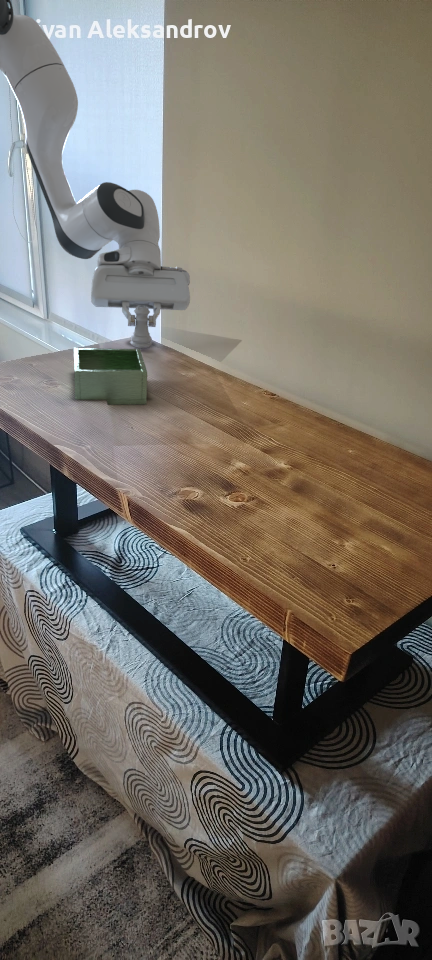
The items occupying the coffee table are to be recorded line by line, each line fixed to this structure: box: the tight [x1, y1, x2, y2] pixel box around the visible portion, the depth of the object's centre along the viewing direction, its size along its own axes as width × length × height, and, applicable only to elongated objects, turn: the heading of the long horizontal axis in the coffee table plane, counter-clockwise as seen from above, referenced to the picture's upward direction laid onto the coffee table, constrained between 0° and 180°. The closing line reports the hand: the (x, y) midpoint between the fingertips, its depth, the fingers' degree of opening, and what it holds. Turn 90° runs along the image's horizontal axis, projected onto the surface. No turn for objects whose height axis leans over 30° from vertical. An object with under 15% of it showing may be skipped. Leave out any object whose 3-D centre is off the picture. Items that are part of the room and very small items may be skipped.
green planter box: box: [73, 347, 148, 406], centre depth 107 cm, size 12×12×6 cm
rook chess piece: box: [129, 305, 153, 349], centre depth 128 cm, size 4×4×8 cm
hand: (141, 325), depth 127 cm, fingers closed on rook chess piece, 3 cm apart
